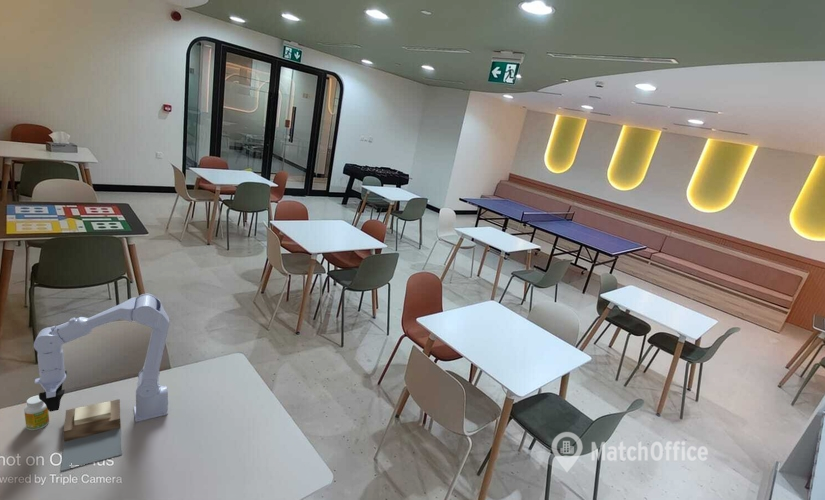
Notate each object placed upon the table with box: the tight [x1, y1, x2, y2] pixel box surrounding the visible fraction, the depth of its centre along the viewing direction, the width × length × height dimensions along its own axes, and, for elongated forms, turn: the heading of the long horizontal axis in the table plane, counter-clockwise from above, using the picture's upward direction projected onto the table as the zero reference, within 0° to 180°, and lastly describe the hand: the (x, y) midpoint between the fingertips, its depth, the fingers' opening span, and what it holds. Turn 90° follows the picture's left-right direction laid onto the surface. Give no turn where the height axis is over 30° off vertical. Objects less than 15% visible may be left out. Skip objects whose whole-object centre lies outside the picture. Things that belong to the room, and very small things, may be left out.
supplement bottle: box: [23, 394, 50, 431], centre depth 124 cm, size 5×5×10 cm
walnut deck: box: [63, 398, 122, 443], centre depth 129 cm, size 14×10×4 cm
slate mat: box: [60, 428, 122, 473], centre depth 121 cm, size 14×12×1 cm
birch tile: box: [74, 400, 112, 425], centre depth 127 cm, size 9×6×2 cm, turn 126°
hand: (55, 402), depth 123 cm, fingers open, 7 cm apart
